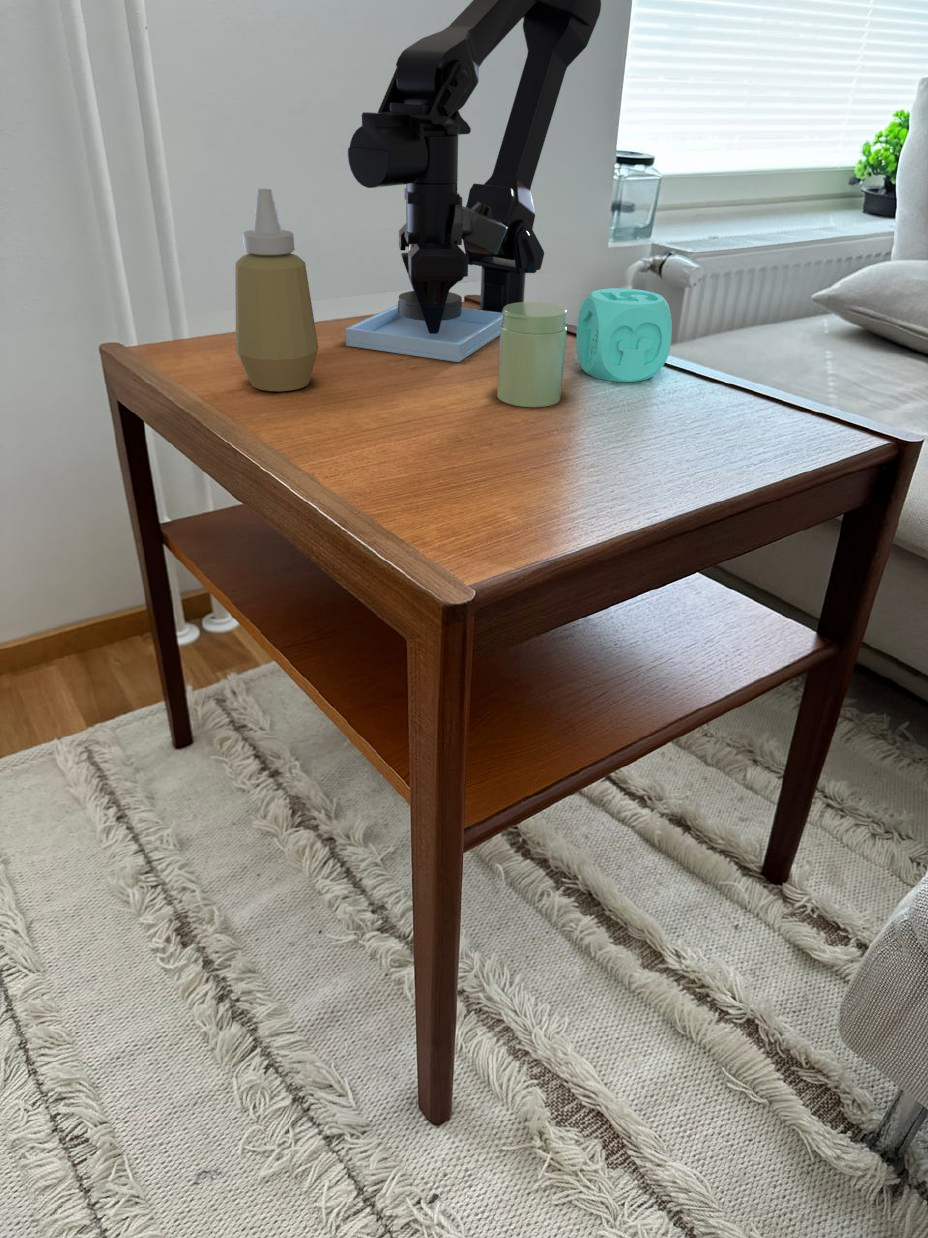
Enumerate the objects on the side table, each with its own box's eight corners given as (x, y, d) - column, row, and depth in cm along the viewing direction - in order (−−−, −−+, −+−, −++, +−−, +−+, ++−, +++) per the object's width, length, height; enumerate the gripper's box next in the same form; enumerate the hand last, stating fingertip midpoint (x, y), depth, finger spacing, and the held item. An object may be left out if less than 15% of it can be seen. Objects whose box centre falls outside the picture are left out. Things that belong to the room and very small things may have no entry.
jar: (509, 383, 93) (514, 298, 89) (568, 392, 91) (576, 306, 87) (487, 401, 88) (491, 311, 84) (549, 411, 86) (557, 320, 82)
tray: (406, 316, 117) (406, 300, 116) (508, 329, 112) (509, 313, 111) (346, 345, 104) (345, 328, 103) (458, 362, 99) (459, 344, 98)
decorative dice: (572, 361, 101) (580, 287, 97) (640, 360, 102) (649, 287, 98) (594, 383, 94) (603, 305, 90) (665, 381, 96) (677, 304, 91)
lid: (400, 321, 103) (400, 304, 102) (396, 306, 109) (395, 289, 108) (465, 320, 104) (465, 303, 103) (457, 305, 110) (457, 289, 109)
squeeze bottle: (304, 400, 87) (290, 197, 77) (226, 392, 88) (203, 192, 79) (331, 376, 94) (321, 186, 84) (258, 369, 95) (241, 182, 85)
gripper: (518, 193, 92) (510, 345, 100) (490, 173, 108) (484, 306, 116) (411, 191, 91) (411, 346, 99) (397, 171, 106) (399, 306, 115)
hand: (430, 325), depth 107 cm, fingers closed on lid, 7 cm apart
